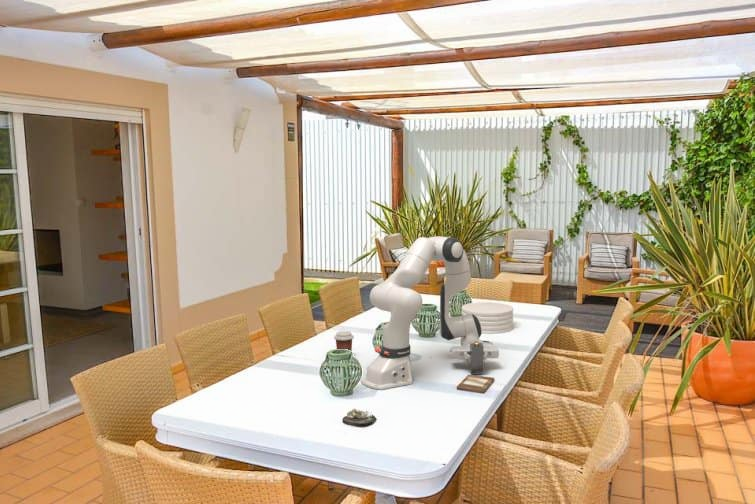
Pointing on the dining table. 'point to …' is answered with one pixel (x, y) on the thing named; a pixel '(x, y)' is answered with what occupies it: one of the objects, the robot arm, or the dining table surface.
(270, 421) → the dining table surface
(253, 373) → the dining table surface
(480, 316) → the plate stack
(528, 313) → the dining table surface
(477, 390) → the walnut board
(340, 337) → the coffee cup
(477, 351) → the block
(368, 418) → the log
